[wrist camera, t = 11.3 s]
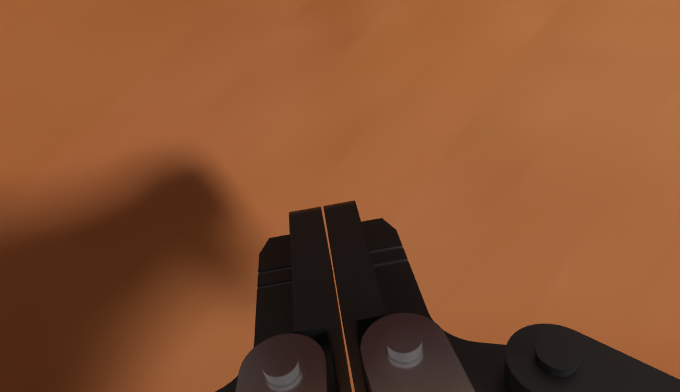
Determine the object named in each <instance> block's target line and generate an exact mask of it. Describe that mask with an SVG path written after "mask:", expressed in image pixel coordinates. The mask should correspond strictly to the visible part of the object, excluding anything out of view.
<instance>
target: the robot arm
mask: <svg viewBox="0 0 680 392" xmlns="http://www.w3.org/2000/svg"><path fill="white" fill-rule="evenodd" d="M324 212H325V218H326V224H327V230H328V237H329V243H330V249H331V255H332V261H333V267H334V273H335V280H336V286H337V292H338V298H339V304H340V310H341V316H342V323H343V328H344V334H345V339H346V345H347V350H348V356H349V361H350V367H351V372H352V378H353V383H354V389H355V392H680V380H679V379H677V378H675V377H673V376H671V375H669V374H667V373H664V372H662V371H660V370H658V369H656V368H654V367H652V366H649V365H647V364H645V363H643V362H641V361H639V360H637V359H635V358H632V357H630V356H628V355H626V354H624V353H622V352H620V351H617V350H615V349H613V348H611V347H609V346H607V345H605V344H603V343H600V342H598V341H596V340H594V339H592V338H590V337H588V336H585V335H583V334H581V333H579V332H577V331H575V330H572V329H570V328H567V327H563V326H560V325H554V324H534V325H530V326H526V327H524V328H522V329H520V330H518V331H517V332H515V333H514V334H513V335H512V336H511V338H510V339H509V341H508V343H507V345H501V344H490V343H479V342H472V341H467V340H463V339H460V338H457V337H455V336H452V335H451V334H449V333H447V332H445V331H444V330H442V329H441V328H440V327H439V325H438V324H436V323H435V322H434V321H433V320H432V318H431V317H430V315H429V313H428V310H427V308H426V305H425V303H424V300H423V298H422V295H421V292H420V290H419V287H418V285H417V282H416V280H415V277H414V274H413V272H412V269H411V267H410V264H409V262H408V260H407V256H406V254H405V251H404V249H403V247H402V244H401V241H400V238H399V236H398V233H397V231H396V229H395V228H393V227H392V226H391V225H390V224H388V223H387V222H386V221H385V220H383V219H382V218H380V219H374V220H368V221H363V222H361V220H360V217H359V213H358V210H357V206H356V203H355V201H350V202H344V203H338V204H333V205H327V206H324ZM289 225H290V235H284V236H279V237H273V238H269V240H268V241H267V243H266V244H265V246H264V248H263V249H262V251H261V252H260V254H259V268H258V272H259V275H258V285H257V286H258V289H257V303H256V321H255V339H254V348H253V349H252V350H251V351H250V352H249V353H248V355H247V356H246V357H245V359H244V360H243V362H242V364H241V367H240V370H239V374H238V376H237V377H236V378H235V379H234V380H233V381H232V382H230V383H229V384H227V385H226V386H225V387H223V388H221V389H219V390H218V391H216V392H352V389H351V383H350V377H349V371H348V364H347V358H346V352H345V345H344V339H343V333H342V326H341V320H340V314H339V308H338V301H337V295H336V289H335V282H334V277H333V271H332V265H331V259H330V254H329V248H328V243H327V237H326V232H325V227H324V221H323V216H322V210H321V207H316V208H310V209H305V210H299V211H293V212H289Z"/></svg>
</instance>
